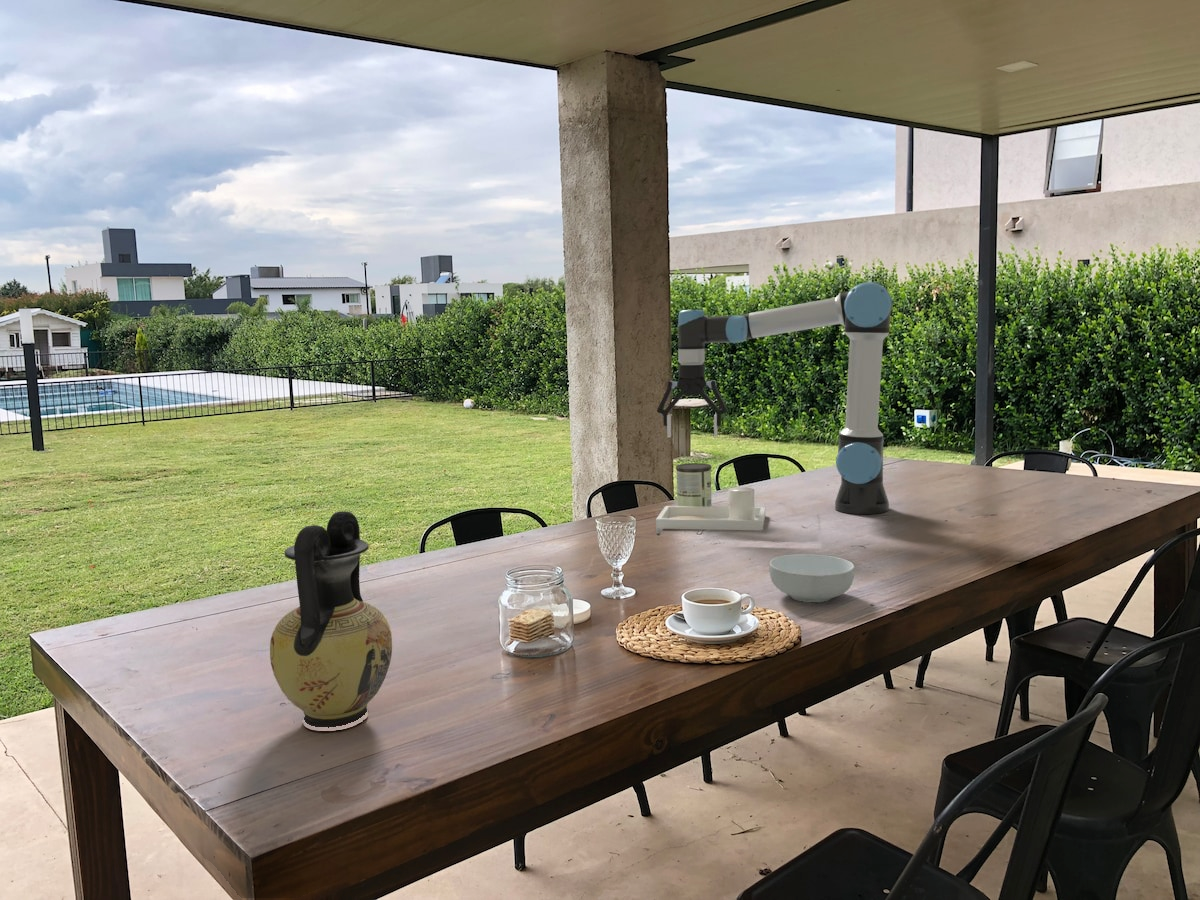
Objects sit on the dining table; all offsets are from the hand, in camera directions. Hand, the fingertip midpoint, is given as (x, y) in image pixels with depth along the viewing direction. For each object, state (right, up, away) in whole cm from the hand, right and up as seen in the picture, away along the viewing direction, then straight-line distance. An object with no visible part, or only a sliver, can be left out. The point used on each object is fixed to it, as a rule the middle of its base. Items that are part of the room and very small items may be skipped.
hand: (692, 437), depth 270 cm
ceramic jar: (+11, -23, -19) cm, 32 cm away
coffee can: (+1, -22, +3) cm, 23 cm away
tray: (+4, -25, -17) cm, 30 cm away
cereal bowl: (+16, -34, -82) cm, 90 cm away
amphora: (-65, -43, -135) cm, 156 cm away
